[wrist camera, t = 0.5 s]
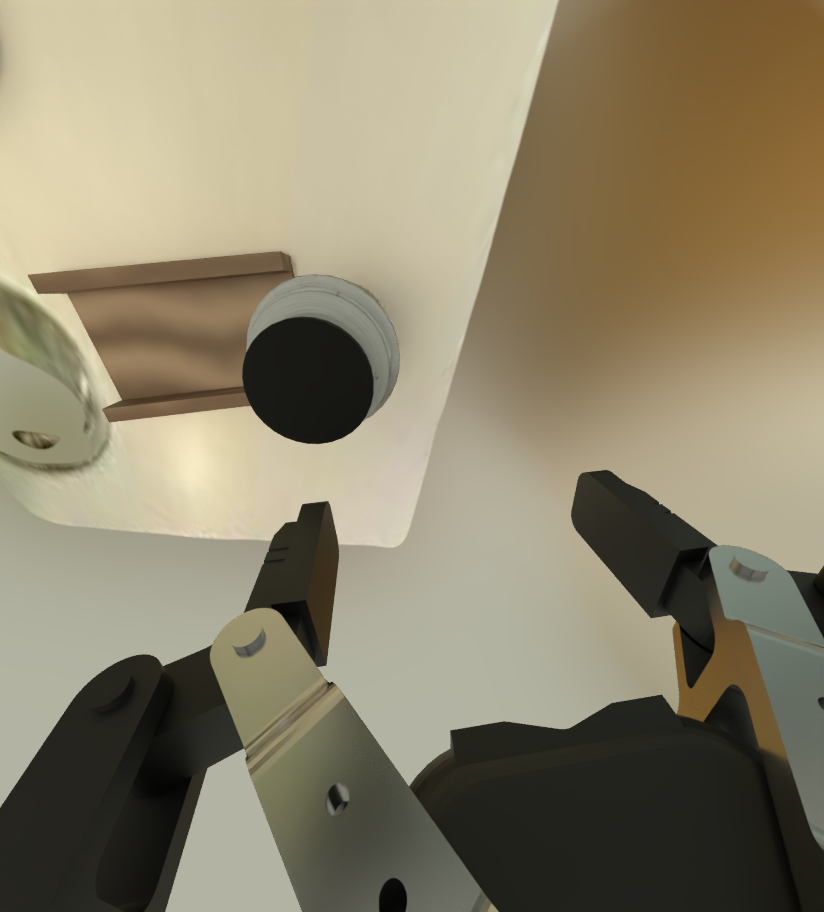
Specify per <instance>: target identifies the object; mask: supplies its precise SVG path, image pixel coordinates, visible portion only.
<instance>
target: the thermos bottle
mask: <svg viewBox="0 0 824 912" xmlns="http://www.w3.org/2000/svg"><path fill="white" fill-rule="evenodd" d="M399 362H400V353H399V346H398V340H397V337H396V334H395V331H394V328H393V325H392V323H391V322H390V320H389V318H388V316H387V315H386V313H385V311H384V310H383V308H382V307H381V305H380V304H379V302H378V300H377V299H376V298H375V297H374V296H373V295H372V294H371V293H370V292H369V291H368V290H366V289H364V288H362V287H361V286H358V285H356V284H354V283H351V282H349V281H346V280H343V279H340V278H336V277H333V276H328V275H315V274H313V275H306V276H299V277H295V278H293V279H290V280H288V281H285V282H282V283H281V284H279V285H278V286H277V287H275V288H274V289H272V290H271V291H269V292H268V294H267V295H266V296H265V297H264V298H263V299H262V300H261V301H260V303H259V304H258V306H257V308H256V310H255V311H254V313H253V315H252V317H251V321H250V324H249V328H248V332H247V347H246V355H245V358H244V362H243V369H242V380H243V386H244V391H245V394H246V396H247V399H248V402H249V403H250V405H251V407H252V408H253V410H254V412H255V413H256V414H257V416H258V417H259V418H260V419H261V420H262V421H263V422H264V423H265V424H266V425H267V426H268V427H270V428H271V429H272V430H273V431H275V432H277V433H278V434H280V435H282V436H284V437H286V438H288V439H291V440H294V441H297V442H302V443H308V444H322V443H328V442H333V441H335V440H338V439H341V438H343V437H345V436H346V435H348V434H350V433H351V432H353V431H354V430H355V429H356V428H357V427H358V426H359V425H360V424H361V423H362V421H364V420H365V419H367V418H369V417H370V416H372V415H373V414H374V413H375V412H376V411H378V410H379V409H380V408H381V407H382V406H383V405H384V403H385V402H386V400H387V399H388V398H389V396H390V395H391V393H392V390H393V388H394V386H395V384H396V381H397V377H398V372H399Z"/></svg>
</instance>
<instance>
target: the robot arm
mask: <svg viewBox="0 0 824 912" xmlns="http://www.w3.org/2000/svg"><path fill="white" fill-rule="evenodd" d="M571 517H572V522H573V525H574V527H575V529H576V531H577V532H578V533H579V534H580V535H581V537H582V538H583V539H584V540H585V541H586V542H587V544H588V545H589V546H590V547H591V548H592V550H593V551H594V552H595V553H596V554H597V555H598V557H599V558H600V559H601V560H602V561H603V562H604V564H605V565H606V566H607V567H608V568H609V569H610V571H611V572H612V573H613V574H614V575H615V577H616V578H617V579H618V580H619V581H620V582H621V584H622V585H623V586H624V587H625V588H626V589H627V591H628V592H629V593H630V594H631V595H632V596H633V598H634V599H635V600H636V601H637V602H638V603H639V605H640V606H641V607H642V608H643V609H644V610H645V612H646V613H647V614H648V615H649V616H650V618H655V617H662V616H668V615H671V616H672V617H673V618H674V619H675V620H676V622H675V624H674V626H673V641H674V650H675V659H676V669H677V678H678V687H679V707H678V712H677V714H675V712H674V711H673V710H672V708H671V707H670V705H669V704H668V703H667V701H666V700H665V698H664V697H663V696H662V695H657V696H651V697H645V698H639V699H634V700H628V701H622V702H616V703H611V704H610V705H608V706H606V707H605V708H603V709H601V710H600V711H598V712H596V713H595V714H593V715H591V716H590V717H588V718H586V719H585V720H583V721H581V722H580V723H578V724H576V725H575V726H573V727H571V728H569V729H554V728H548V727H540V726H533V725H526V724H519V723H512V722H498V723H492V724H486V725H480V726H475V727H469V728H463V729H457V730H451V731H450V735H451V749H449V750H447V751H446V752H444V753H442V754H441V755H439V756H438V757H437V758H435V759H434V760H433V761H432V762H430V763H429V764H428V765H427V766H426V767H425V768H424V769H423V770H422V771H421V772H420V773H419V774H418V775H417V777H416V778H415V779H414V781H413V782H412V783H411V785H410V786H408V785H407V783H406V782H405V780H404V779H403V778H402V776H401V775H400V773H399V772H398V771H397V769H396V768H395V766H394V765H393V763H392V762H391V761H390V759H389V758H388V757H387V755H386V754H385V752H384V751H383V749H382V748H381V746H380V745H379V744H378V742H377V741H376V739H375V738H374V737H373V735H372V734H371V732H370V731H369V730H368V728H367V727H366V725H365V724H364V723H363V721H362V720H361V719H360V717H359V715H358V714H357V712H356V711H355V710H354V708H353V707H352V706H351V704H350V703H349V701H348V700H347V698H346V697H345V696H344V694H343V693H342V692H341V690H340V689H339V688H338V687H337V685H336V684H334V683H333V682H331V683H329V682H328V681H327V680H326V679H325V678H324V676H323V675H322V673H321V672H320V670H319V669H318V668H317V667H320V666H326V664H327V656H328V647H329V639H330V630H331V621H332V612H333V604H334V595H335V587H336V578H337V570H338V562H339V547H338V540H337V535H336V530H335V526H334V521H333V516H332V512H331V507H330V504H329V502H328V501H325V502H317V503H308V504H303V505H302V507H301V510H300V513H299V516H298V519H297V522H289V523H285V524H284V525H283V526H282V528H281V529H280V530H279V531H278V532H277V533H276V534H275V535H274V537H273V539H272V542H271V545H270V547H269V552H267V555H266V557H265V560H264V564H263V565H262V568H261V570H260V573H259V576H258V578H257V580H256V583H255V585H254V588H253V591H252V593H251V596H250V599H249V601H248V603H247V606H246V609H245V611H244V613H243V614H241V615H239V616H238V617H236V618H235V619H233V620H232V621H231V622H229V623H228V624H227V625H226V626H225V627H224V628H223V629H222V630H221V631H220V633H219V634H218V635H217V637H216V639H215V640H214V642H213V645H211V646H209V647H207V648H205V649H203V650H201V651H198V652H196V653H194V654H191V655H189V656H186V657H184V658H182V659H180V660H177V661H174V662H172V663H170V664H167V665H165V666H162V665H161V663H160V662H159V660H158V659H157V658H156V657H154V656H151V655H136V656H132V657H129V658H126V659H124V660H122V661H119V662H117V663H115V664H113V665H112V666H110V667H108V668H107V669H105V670H104V671H102V672H101V673H100V674H98V675H97V676H96V677H94V678H93V679H92V680H91V681H90V682H89V683H88V684H87V685H86V686H84V688H82V690H81V691H80V692H79V693H78V694H77V695H76V697H75V698H74V699H73V701H72V702H71V703H70V705H69V706H68V708H67V709H66V711H65V712H64V714H63V715H62V717H61V718H60V720H59V721H58V723H57V724H56V726H55V727H54V729H53V730H52V732H51V733H50V735H49V736H48V737H47V739H46V740H45V742H44V743H43V745H42V746H41V748H40V749H39V751H38V752H37V754H36V755H35V757H34V758H33V760H32V761H31V763H30V764H29V766H28V767H27V769H26V770H25V772H24V773H23V775H22V776H21V778H20V779H19V781H18V782H17V784H16V785H15V787H14V788H13V790H12V791H11V793H10V794H9V796H8V797H7V799H6V800H5V801H4V803H3V804H2V806H1V808H0V912H165V910H166V907H167V903H168V900H169V896H170V893H171V890H172V886H173V883H174V880H175V876H176V872H177V869H178V866H179V863H180V859H181V856H182V852H183V849H184V846H185V842H186V839H187V835H188V832H189V829H190V825H191V822H192V818H193V815H194V812H195V808H196V805H197V801H198V798H199V795H200V791H201V788H202V784H203V781H204V777H205V774H206V771H207V768H208V767H210V766H212V765H214V764H216V763H217V762H219V761H221V760H223V759H225V758H227V757H228V756H230V755H232V754H234V753H236V752H238V751H240V750H242V749H243V748H244V749H245V752H246V755H247V757H246V764H247V767H248V770H249V773H250V776H251V779H252V782H253V784H254V787H255V789H256V792H257V795H258V798H259V800H260V803H261V805H262V808H263V811H264V813H265V816H266V818H267V821H268V824H269V826H270V829H271V831H272V834H273V837H274V839H275V842H276V844H277V847H278V850H279V852H280V855H281V857H282V860H283V863H284V865H285V868H286V871H287V873H288V876H289V878H290V881H291V883H292V886H293V889H294V891H295V894H296V897H297V899H298V902H299V905H300V907H301V910H302V912H824V566H823V568H822V569H821V570H820V572H819V573H818V574H814V573H806V572H797V571H788V570H785V569H784V568H783V567H782V566H780V565H779V564H777V563H776V562H774V561H773V560H771V559H769V558H768V557H766V556H764V555H761V554H759V553H757V552H754V551H751V550H748V549H745V548H741V547H736V546H729V545H728V546H727V545H722V546H718V545H716V544H715V543H713V542H712V541H711V540H709V539H708V538H706V537H705V536H704V535H703V534H701V533H700V532H699V531H697V530H696V529H694V528H693V527H692V526H690V525H689V524H688V523H686V522H685V521H684V520H682V519H681V518H680V517H678V516H677V515H676V514H674V513H673V514H672V513H671V511H670V510H669V509H667V508H666V507H665V506H663V505H662V504H661V505H660V504H659V502H658V501H657V500H655V499H654V498H652V497H651V496H650V495H649V494H647V493H646V492H644V491H642V490H640V489H638V488H635V487H633V486H631V485H629V484H627V483H625V482H624V481H622V480H621V479H620V478H618V477H617V476H616V475H615V474H613V473H612V472H610V471H608V470H602V471H593V472H585V473H582V474H581V475H580V476H579V478H578V483H577V487H576V492H575V497H574V501H573V507H572V511H571Z"/></svg>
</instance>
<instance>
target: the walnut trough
mask: <svg viewBox="0 0 824 912" xmlns="http://www.w3.org/2000/svg"><path fill="white" fill-rule="evenodd" d="M28 277H29V279H30V280H31V282H32V284H33V286H34V288H35V289H36V291H37V293H38V294H64V293H67V294H68V296H69V298H70V300H71V302H72V304H73V306H74V308H75V310H76V312H77V313H78V315H79V317H80V319H81V321H82V323H83V325H84V327H85V329H86V331H87V333H88V335H89V337H90V339H91V340H92V342H93V344H94V346H95V348H96V350H97V352H98V354H99V356H100V358H101V360H102V362H103V364H104V366H105V368H106V369H107V371H108V373H109V375H110V377H111V379H112V381H113V383H114V385H115V387H116V389H117V391H118V393H119V395H120V396H121V398H122V401H119V402H117V403H115V404H113V405H110V406H108V407H106V408H104V409H102V410H103V412H104V414H105V416H106V417H107V419H108V421H109V422H117V421H125V420H133V419H142V418H150V417H158V416H167V415H175V414H184V413H192V412H200V411H209V410H217V409H225V408H234V407H242V406H251V405H250V403H249V402H248V399H247V396H246V394H245V391H244V386H243V380H242V369H243V362H244V358H245V355H246V347H247V332H248V328H249V324H250V321H251V317H252V315H253V313H254V311H255V310H256V308H257V306H258V304H259V303H260V301H261V300H262V299H263V298H264V297H265V296H266V295H267V294H268V292H269V291H271V290H272V289H274V288H275V287H277V286H278V285H279V284H281V283H282V282H285V281H288V280H290V279H293V278H294V274H293V270H292V265H291V261H290V256H289V255H287V254H285V253H282V252H280V251H279V252H268V253H257V254H246V255H235V256H225V257H214V258H203V259H192V260H182V261H171V262H160V263H149V264H139V265H128V266H117V267H106V268H96V269H85V270H74V271H63V272H52V273H42V274H31V275H28Z"/></svg>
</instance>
